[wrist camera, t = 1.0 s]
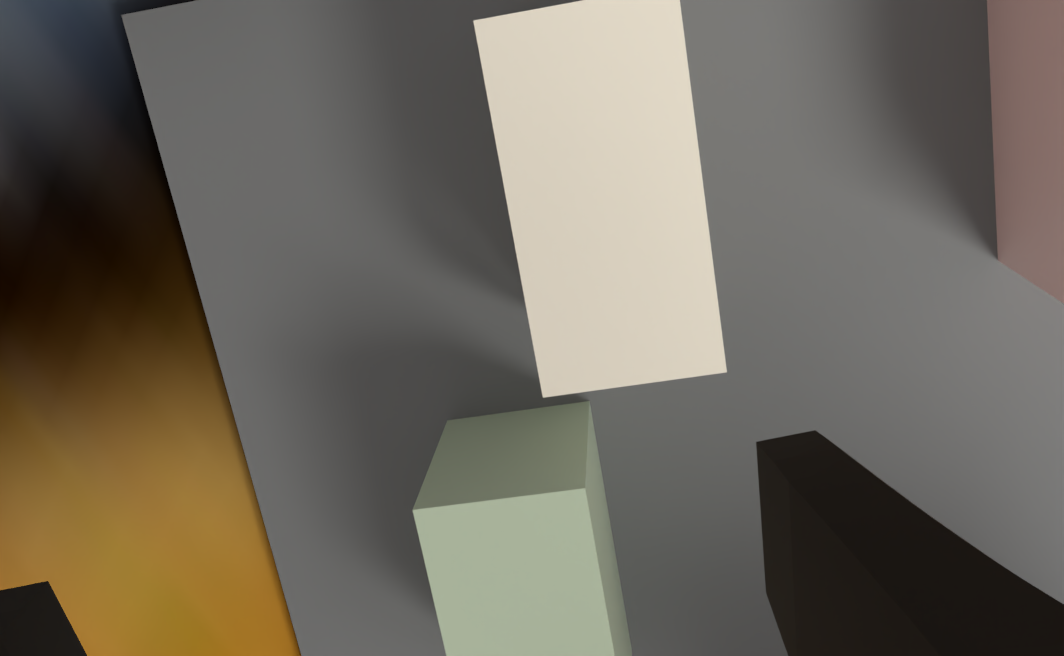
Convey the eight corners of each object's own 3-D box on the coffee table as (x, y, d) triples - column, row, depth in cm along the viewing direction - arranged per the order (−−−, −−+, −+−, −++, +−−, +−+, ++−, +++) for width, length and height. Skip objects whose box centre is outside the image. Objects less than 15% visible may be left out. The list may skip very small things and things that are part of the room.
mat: (1163, 669, 26) (1171, 678, 25) (334, 749, 28) (330, 759, 28) (1169, -187, 20) (1180, -191, 20) (129, 14, 23) (121, 15, 22)
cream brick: (704, 303, 23) (727, 372, 19) (555, 325, 24) (542, 397, 19) (663, -13, 21) (677, -18, 17) (500, 17, 22) (472, 20, 17)
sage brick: (631, 649, 26) (636, 778, 22) (499, 663, 27) (478, 792, 22) (589, 401, 24) (585, 488, 20) (447, 420, 25) (412, 510, 20)
